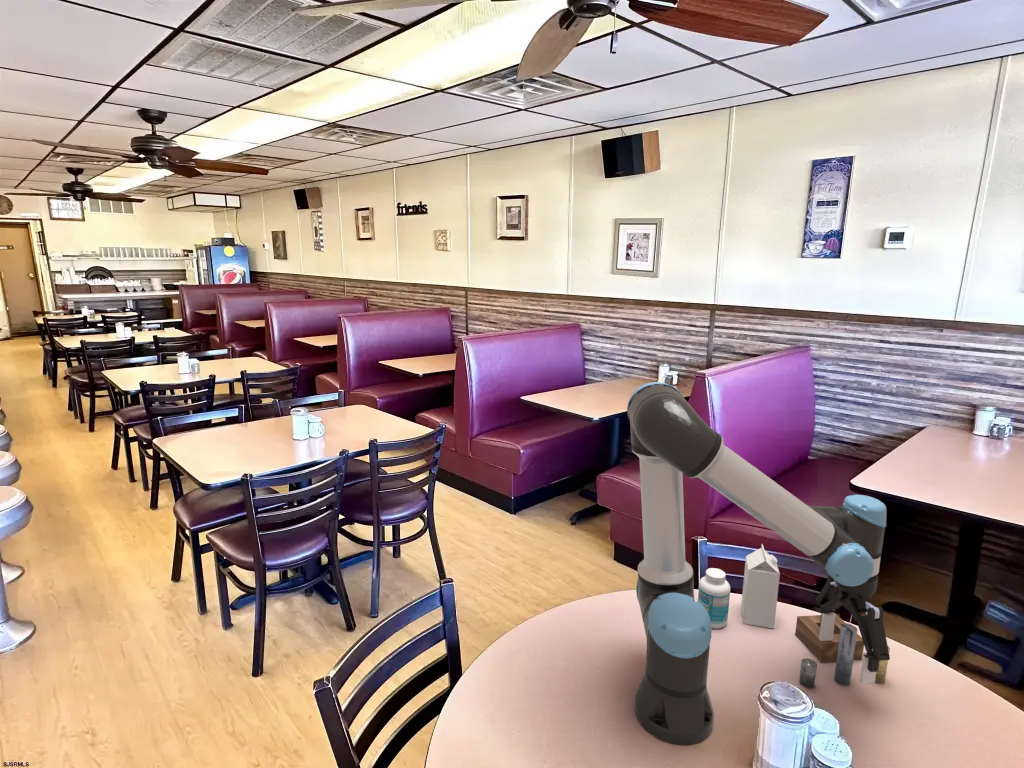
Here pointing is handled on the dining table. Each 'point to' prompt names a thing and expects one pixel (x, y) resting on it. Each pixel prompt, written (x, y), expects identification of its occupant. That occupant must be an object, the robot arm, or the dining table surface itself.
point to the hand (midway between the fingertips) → (845, 659)
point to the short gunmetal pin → (808, 673)
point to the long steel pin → (845, 654)
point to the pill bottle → (715, 596)
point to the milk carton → (760, 589)
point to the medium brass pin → (881, 671)
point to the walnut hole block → (823, 649)
